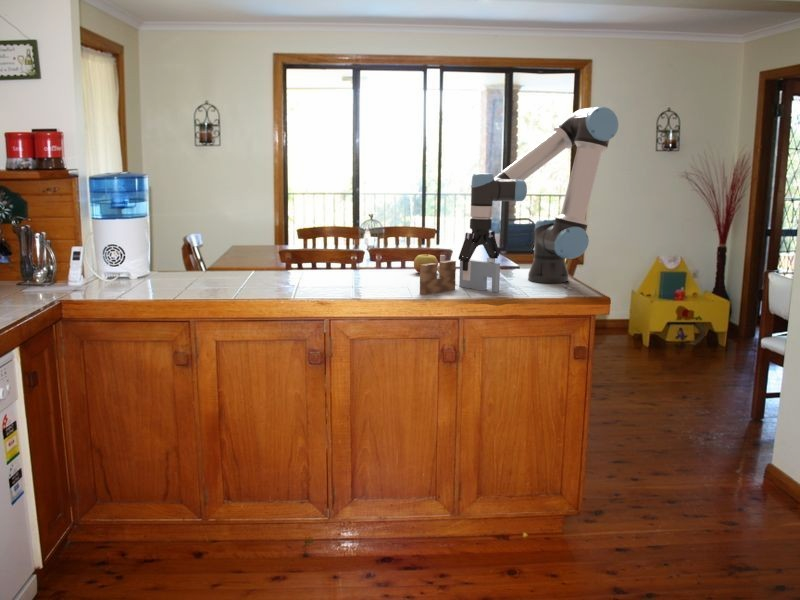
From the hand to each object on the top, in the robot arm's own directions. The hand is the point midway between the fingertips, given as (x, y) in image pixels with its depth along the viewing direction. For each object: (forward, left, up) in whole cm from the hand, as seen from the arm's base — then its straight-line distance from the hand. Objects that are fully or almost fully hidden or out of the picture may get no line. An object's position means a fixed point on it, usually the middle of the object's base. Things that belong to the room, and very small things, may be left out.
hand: (478, 278), depth 268 cm
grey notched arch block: (0, 0, -4) cm, 4 cm away
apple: (+17, -36, -4) cm, 40 cm away
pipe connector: (+12, -15, -4) cm, 20 cm away
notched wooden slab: (+15, +5, -4) cm, 16 cm away
